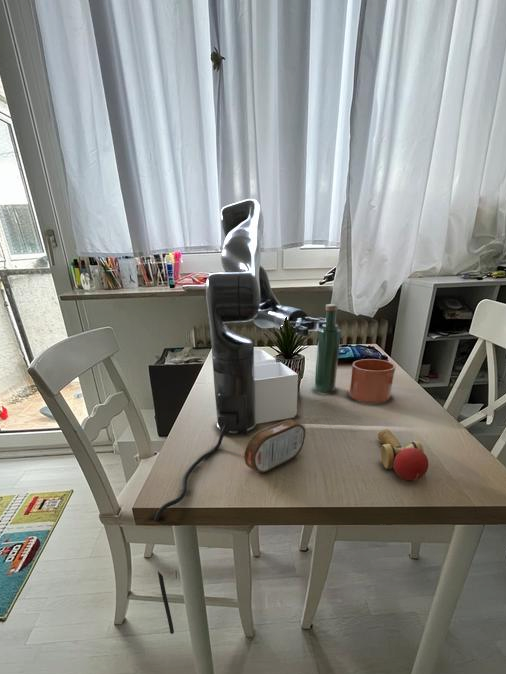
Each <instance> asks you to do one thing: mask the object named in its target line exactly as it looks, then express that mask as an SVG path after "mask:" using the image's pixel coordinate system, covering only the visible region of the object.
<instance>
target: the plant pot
mask: <svg viewBox="0 0 506 674" xmlns="http://www.w3.org/2000/svg"><path fill="white" fill-rule="evenodd" d="M396 367H397V366H396V364H395V363H393V362H392V361H390V360H389V361H388V360H384V359H377V358H365V359H358V360H355V361H353V362H352V364H351V371H350V382H349V389H348V396H349V397H350V398H351V399H353V400H355V401H358V402H362V403H370V404H371V403H383V402H386V401H389V400H390V398H391V395H392V390H393V385H394V384H393V383H394V380H395V379H394V378H395V374H396V373H395V372H396Z"/></svg>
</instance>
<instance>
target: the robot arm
mask: <svg viewBox="0 0 506 674" xmlns="http://www.w3.org/2000/svg"><path fill="white" fill-rule="evenodd" d="M263 213H264V212H263V210H262V207H261V205H260V203H259V202H258V201H257V200H256V199H254V198H247V199H244V200H241V201H238V202H235V203H231V204H229V205H226V206H223V207H222V209H221V211H220V222H221V223H220V224H221V227H222V228H221V229H222V232H223V235H224V238H225V239H224V241H223V244H222V249H221V254H220V256H221V257H220V260H221V265H222V268H223V270H224V271H223V272H211V273H209V275H208V276H207V277H206V281H205V300H206V308H207V317H208V323H209V334H210V343H211V358H212V373H213V386H214V399H215V400H214V401H215V412H216V428H217V430H218V431H220V434H219V436H218V440H217V443H216V444H215V446H214V447H213V448H212V449H211V450H209V451H208V452H206V453H204V454H202V455H200V457H199V458H197V460H195V462H193V464H191V466H190V467H188V469H187V471H186V472H185V474H184V476H183V478H182V490H181V492H180V494H179V496H177V497H176V498H175V499H172V500H169V501H168V502H166V503H164V504H162V506H161V507H159V509H158V510H157V512H156V514H155V515H154V520H153V521H155V522H158V521H159V520H160V518H161V516H162V514H163V512H164V511H165V510H166V509H168V508H170V507H171V506H174V505H176V504H178V503H180V502H181V501H182V500H183V499H184V497H185V496H186V493H187V485H188V479H189V477H190V475H191V473H192V472H193V471H194V469H195V468H196V467H197V466H198V465H199V464H200V463H201V462H202V461H203V460H205V459H206V458H208V457H210V456H212V455H213V454H214V453H216V452H217V450H218V449H219V448H220V446H221V445H222V443H223V439H224V436H225V435H242V436H243V435H245V436H246V435H247V434H248V433H250V432H252V431H253V430H255V428H256V426H257V424H256V421H255V384H254V350H255V345H254V341H253V340H252V339H251V338H249V337H247V336H244V335H241V334H238V333H237V332H235V331H233V330H231V329H230V328H229V327H228V326H227V325H226V323H246V322H251V321H252V323H253V324H254V325H255V326H257V327H259V328H261V329H273V328H275V329H277V330H280V327H281V328H282V326H283V325H284V321H285V318H286V317H287V320H289V321H290V323H291V324H293V325H294V327H293V325H292V327H293V330H294V333H295V334H296V335H297V336H296V337H298V336H303V337H308V336H309V332H317V333H318V330H319V329H321V328H322V325H323V324H325V318H326V317H325V318H324V317H321V316H318V317H316V318H315V317H311V316H308V314H307V312H306V311H305V310H303V309H300V308H296V307H292V306H286V305H283V304H281V303H280V301H279V300H278V299H277V298H276V296H275V294H274V292H273V290H272V288H271V287H272V286H271V284H270V279H269V275H268V273H267V271H266V269H265V267H264V266H263V265H262V264H261V259H262V258H261V257H262V245H261V244H262V239H263V234H264V230H265V229H264V228H265V221H264V214H263ZM315 325H316V326H315ZM157 575H158V582H159V586H160V592H161V597H162V601H163V605H164V610H165V614H166V618H167V623H168V628H169V633H170V635H173V634H174V633H175V629H174V624H173V619H172V615H171V610H170V606H169V601H168V597H167V591H166V586H165V581H164V575H163V574H162V573H161V572H160V571H159V570H157Z"/></svg>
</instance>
